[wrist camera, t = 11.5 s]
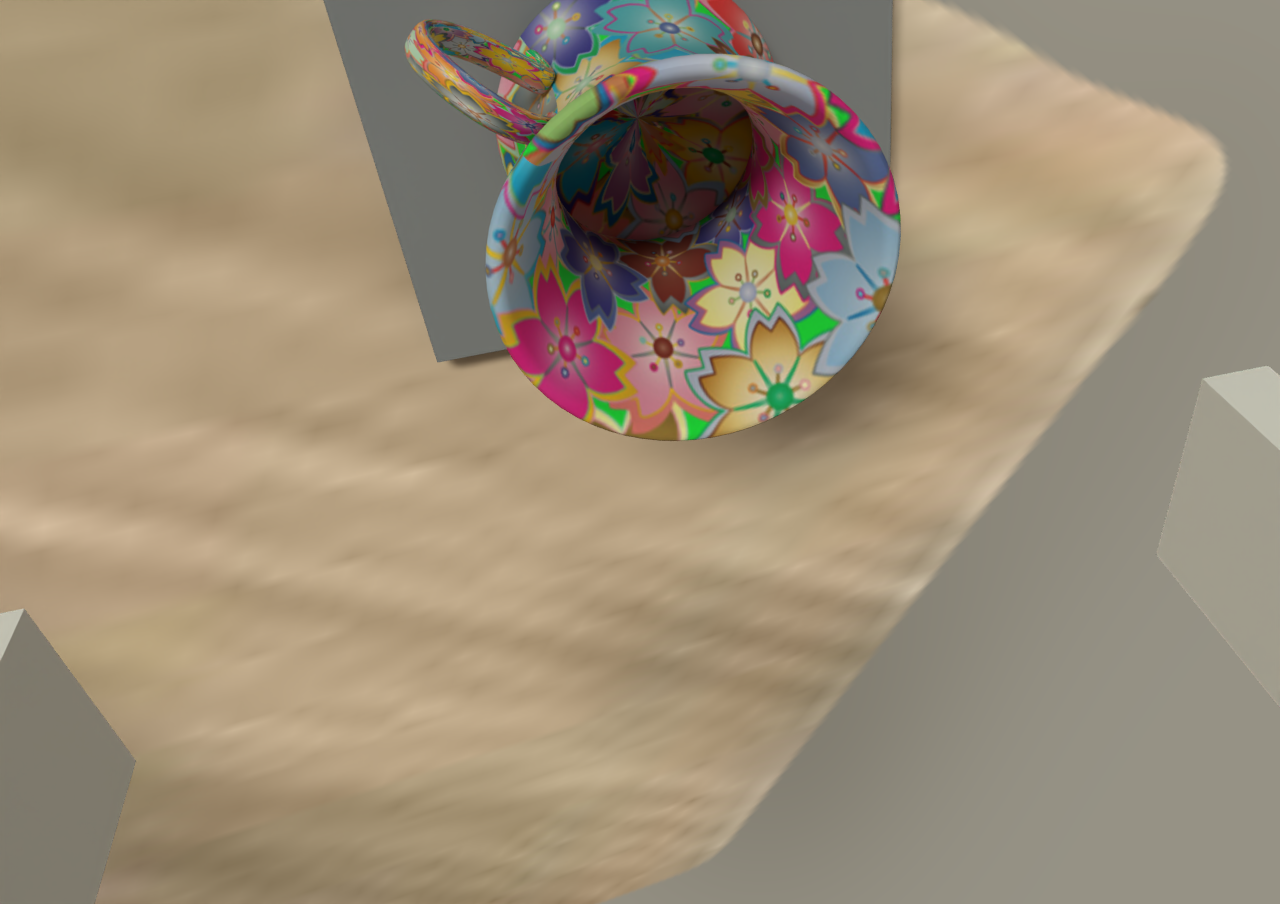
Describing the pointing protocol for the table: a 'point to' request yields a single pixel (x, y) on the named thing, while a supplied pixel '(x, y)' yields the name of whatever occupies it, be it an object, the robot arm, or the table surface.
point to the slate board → (468, 153)
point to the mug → (671, 213)
